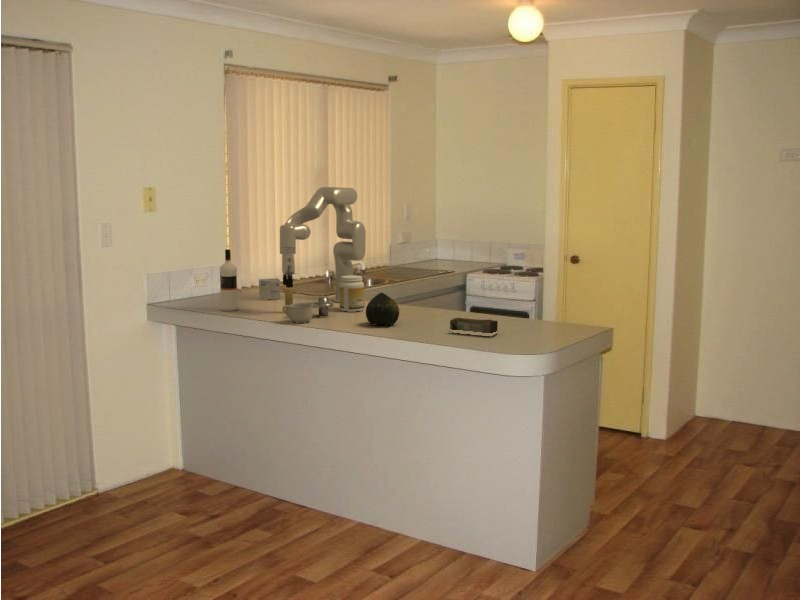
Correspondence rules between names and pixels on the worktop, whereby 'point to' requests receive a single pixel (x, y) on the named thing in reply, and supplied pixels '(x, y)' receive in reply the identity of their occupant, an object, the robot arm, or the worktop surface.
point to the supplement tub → (351, 293)
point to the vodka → (228, 285)
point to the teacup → (299, 312)
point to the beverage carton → (473, 325)
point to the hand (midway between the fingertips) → (287, 286)
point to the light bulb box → (269, 289)
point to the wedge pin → (288, 297)
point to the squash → (382, 310)
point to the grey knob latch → (322, 305)
